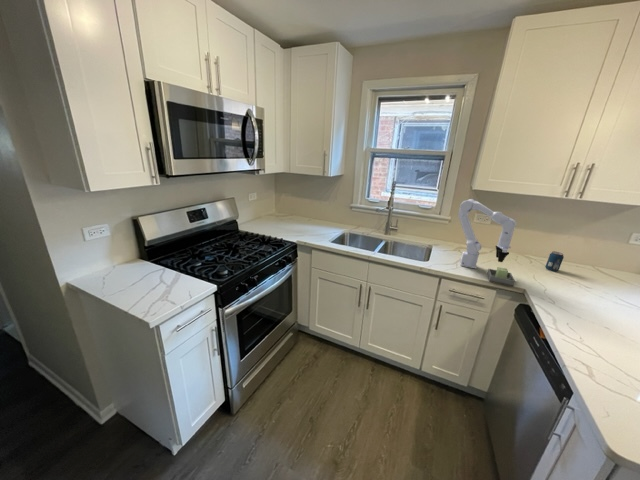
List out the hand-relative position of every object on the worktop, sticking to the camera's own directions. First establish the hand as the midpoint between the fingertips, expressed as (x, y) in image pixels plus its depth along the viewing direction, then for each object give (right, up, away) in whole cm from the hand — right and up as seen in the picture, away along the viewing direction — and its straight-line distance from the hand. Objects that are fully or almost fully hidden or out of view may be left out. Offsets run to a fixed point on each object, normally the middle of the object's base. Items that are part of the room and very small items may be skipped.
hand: (499, 259), depth 163 cm
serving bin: (-3, -12, -5) cm, 13 cm away
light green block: (-3, -11, -6) cm, 13 cm away
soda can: (+44, -8, +13) cm, 46 cm away
